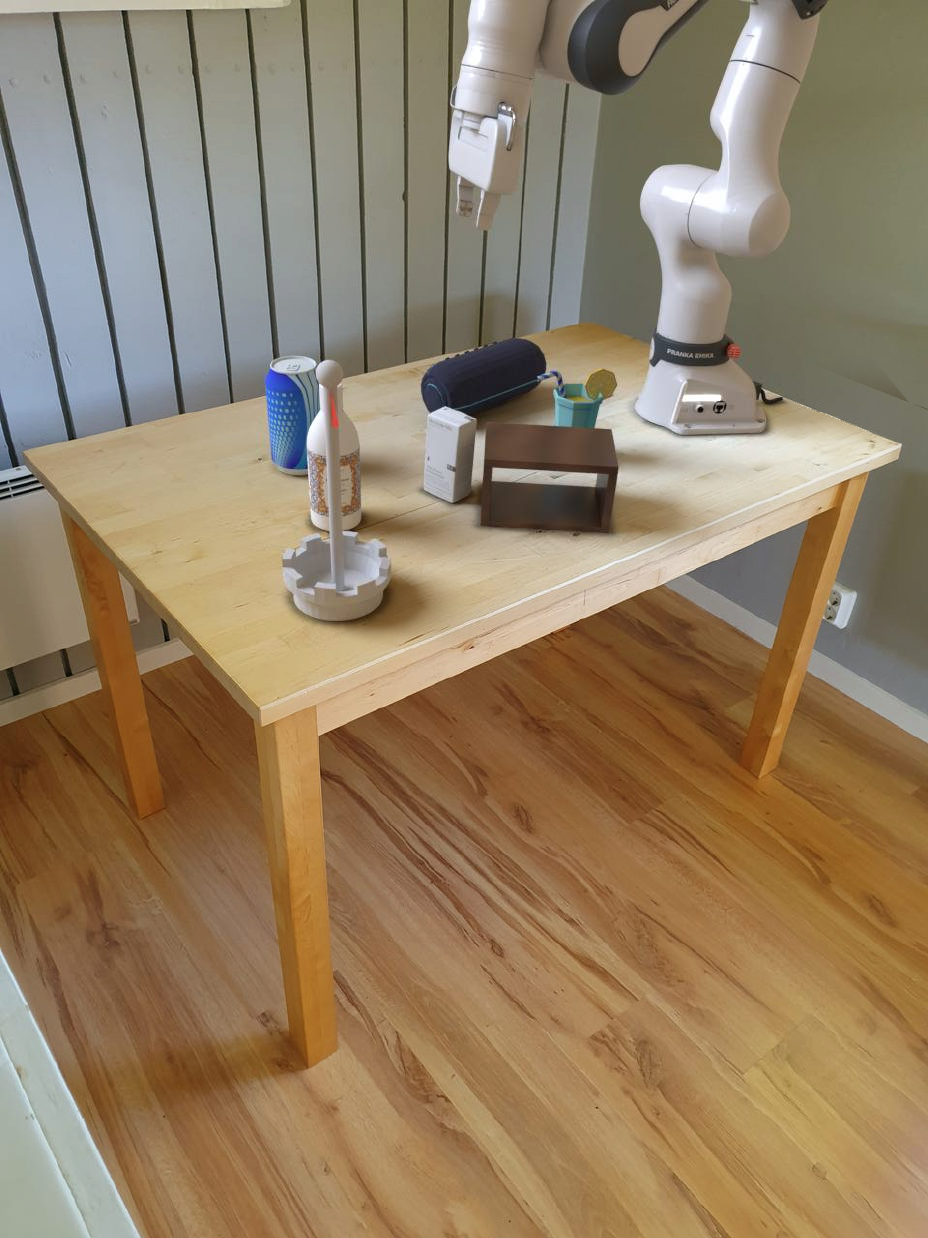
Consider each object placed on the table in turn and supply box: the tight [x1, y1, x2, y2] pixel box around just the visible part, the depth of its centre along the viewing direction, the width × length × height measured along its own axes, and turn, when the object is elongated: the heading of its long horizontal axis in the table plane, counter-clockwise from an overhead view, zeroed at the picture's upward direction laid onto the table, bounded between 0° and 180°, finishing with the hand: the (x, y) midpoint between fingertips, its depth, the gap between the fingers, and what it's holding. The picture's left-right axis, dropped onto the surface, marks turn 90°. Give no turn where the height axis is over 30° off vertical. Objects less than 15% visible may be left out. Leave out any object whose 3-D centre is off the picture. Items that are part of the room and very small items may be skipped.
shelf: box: [479, 421, 620, 534], centre depth 136 cm, size 18×12×10 cm, turn 87°
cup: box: [536, 367, 618, 428], centre depth 148 cm, size 14×8×15 cm, turn 119°
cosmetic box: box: [423, 406, 478, 504], centre depth 138 cm, size 6×4×12 cm
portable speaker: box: [420, 337, 547, 417], centre depth 164 cm, size 25×10×10 cm, turn 136°
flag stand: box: [281, 359, 392, 622], centre depth 110 cm, size 13×13×30 cm
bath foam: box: [307, 382, 362, 532], centre depth 128 cm, size 7×7×20 cm
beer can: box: [264, 355, 320, 476], centre depth 142 cm, size 8×8×16 cm
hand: (472, 222), depth 121 cm, fingers open, 8 cm apart
